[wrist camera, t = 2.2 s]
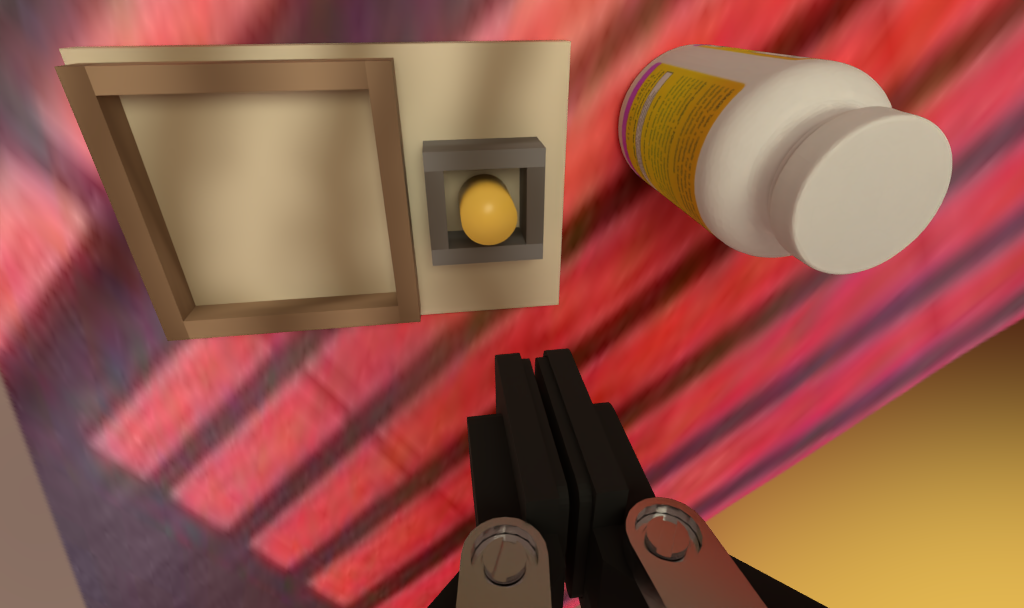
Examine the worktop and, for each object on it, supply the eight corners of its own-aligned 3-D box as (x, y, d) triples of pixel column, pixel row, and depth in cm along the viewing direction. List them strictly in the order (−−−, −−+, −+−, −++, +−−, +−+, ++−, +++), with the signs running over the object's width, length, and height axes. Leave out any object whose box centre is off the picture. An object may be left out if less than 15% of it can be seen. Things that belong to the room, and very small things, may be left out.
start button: (509, 172, 24) (517, 190, 21) (509, 222, 25) (517, 243, 22) (456, 175, 23) (459, 193, 21) (459, 225, 24) (462, 246, 22)
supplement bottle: (629, 201, 27) (764, 334, 16) (599, 74, 24) (745, 131, 13) (750, 156, 27) (972, 259, 16) (737, 19, 23) (1009, 30, 12)
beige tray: (564, 40, 23) (584, 44, 20) (554, 294, 29) (567, 325, 26) (77, 46, 21) (18, 53, 18) (183, 320, 27) (153, 358, 24)
